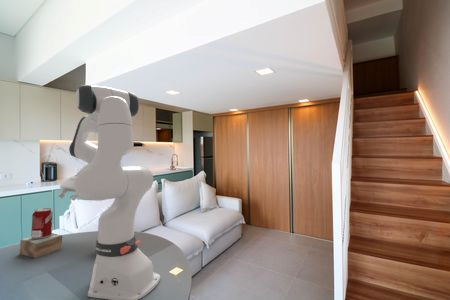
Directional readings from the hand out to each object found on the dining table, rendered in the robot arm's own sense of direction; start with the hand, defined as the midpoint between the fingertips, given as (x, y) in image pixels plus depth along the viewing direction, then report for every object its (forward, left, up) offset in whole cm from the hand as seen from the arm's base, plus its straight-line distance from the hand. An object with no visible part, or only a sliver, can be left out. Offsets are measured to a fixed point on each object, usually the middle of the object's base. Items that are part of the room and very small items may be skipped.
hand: (65, 198), depth 100 cm
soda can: (+1, +9, -15) cm, 18 cm away
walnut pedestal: (+1, +9, -21) cm, 23 cm away
